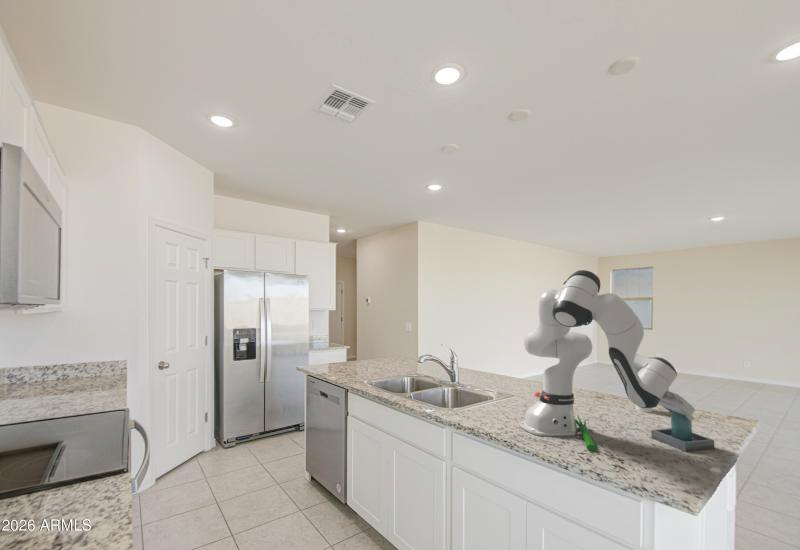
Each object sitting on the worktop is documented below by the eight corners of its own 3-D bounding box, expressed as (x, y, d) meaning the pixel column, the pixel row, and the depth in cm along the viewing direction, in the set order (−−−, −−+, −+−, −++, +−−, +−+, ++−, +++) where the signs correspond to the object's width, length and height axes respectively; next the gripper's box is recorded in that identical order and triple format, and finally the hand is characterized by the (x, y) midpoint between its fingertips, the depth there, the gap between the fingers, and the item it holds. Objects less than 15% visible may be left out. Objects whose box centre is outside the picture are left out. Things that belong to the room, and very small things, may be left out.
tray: (685, 451, 126) (685, 443, 126) (651, 437, 138) (651, 429, 138) (714, 448, 129) (714, 440, 129) (678, 435, 141) (678, 427, 142)
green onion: (598, 454, 125) (583, 422, 153) (597, 445, 125) (583, 414, 153) (582, 452, 126) (571, 420, 155) (582, 443, 126) (571, 413, 155)
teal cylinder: (683, 443, 130) (682, 412, 131) (667, 437, 136) (666, 407, 137) (696, 442, 131) (695, 411, 132) (680, 436, 137) (679, 406, 138)
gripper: (681, 388, 125) (710, 418, 124) (641, 375, 145) (667, 401, 145) (668, 401, 125) (698, 431, 124) (631, 387, 145) (656, 412, 144)
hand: (681, 414), depth 135 cm, fingers open, 8 cm apart
